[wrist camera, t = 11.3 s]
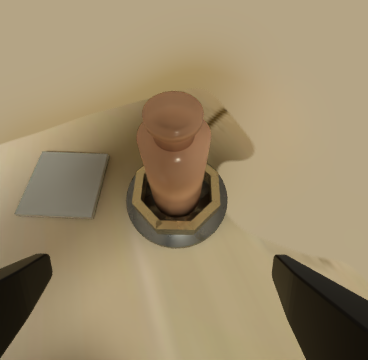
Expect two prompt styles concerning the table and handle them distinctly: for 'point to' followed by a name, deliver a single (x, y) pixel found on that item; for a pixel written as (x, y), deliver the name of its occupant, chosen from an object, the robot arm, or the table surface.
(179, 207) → the vase
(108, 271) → the table surface
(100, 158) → the tile
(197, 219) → the holder
